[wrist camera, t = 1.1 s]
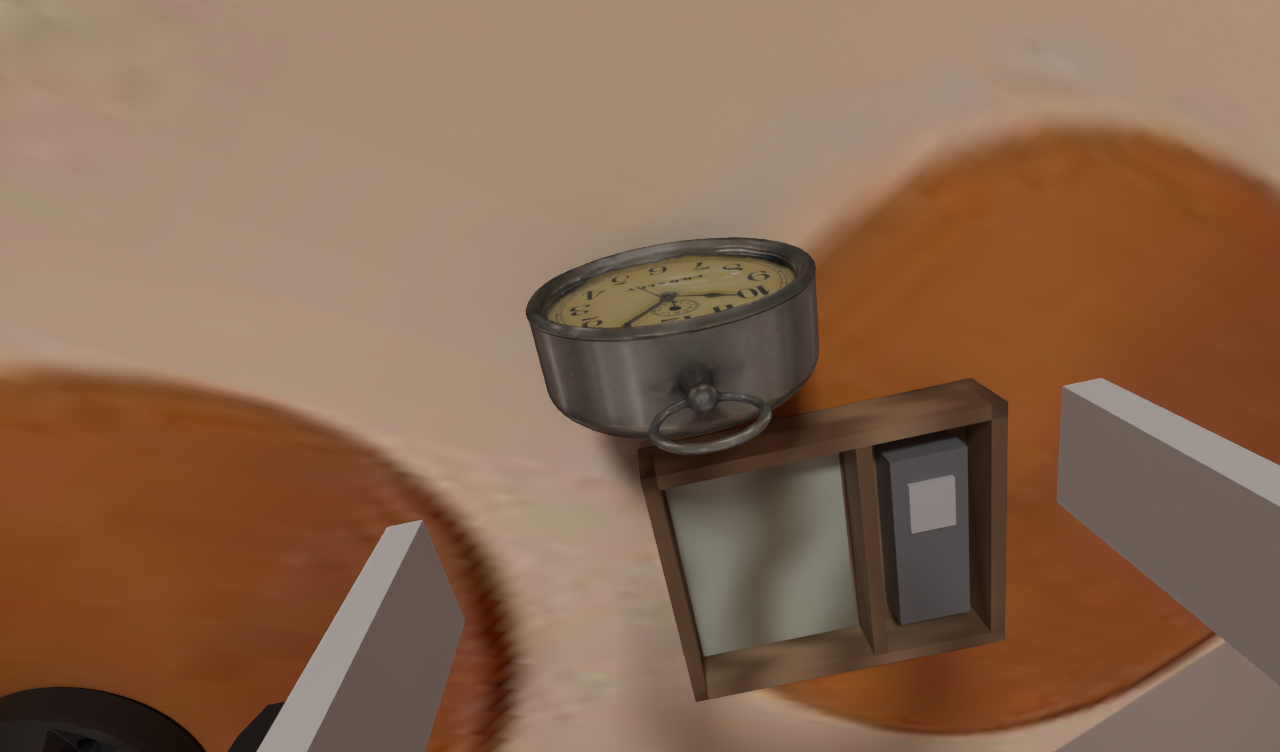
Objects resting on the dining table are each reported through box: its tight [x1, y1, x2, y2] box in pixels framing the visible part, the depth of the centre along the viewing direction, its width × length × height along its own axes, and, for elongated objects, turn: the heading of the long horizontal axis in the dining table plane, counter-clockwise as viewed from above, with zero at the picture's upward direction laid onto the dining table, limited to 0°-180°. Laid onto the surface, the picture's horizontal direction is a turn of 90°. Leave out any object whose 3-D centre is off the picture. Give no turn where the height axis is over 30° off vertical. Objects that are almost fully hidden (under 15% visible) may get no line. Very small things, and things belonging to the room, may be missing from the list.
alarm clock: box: [526, 237, 819, 455], centre depth 22 cm, size 11×5×16 cm, turn 100°
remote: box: [874, 430, 970, 625], centre depth 34 cm, size 4×11×2 cm, turn 12°
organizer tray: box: [638, 378, 1008, 702], centre depth 34 cm, size 18×16×3 cm
